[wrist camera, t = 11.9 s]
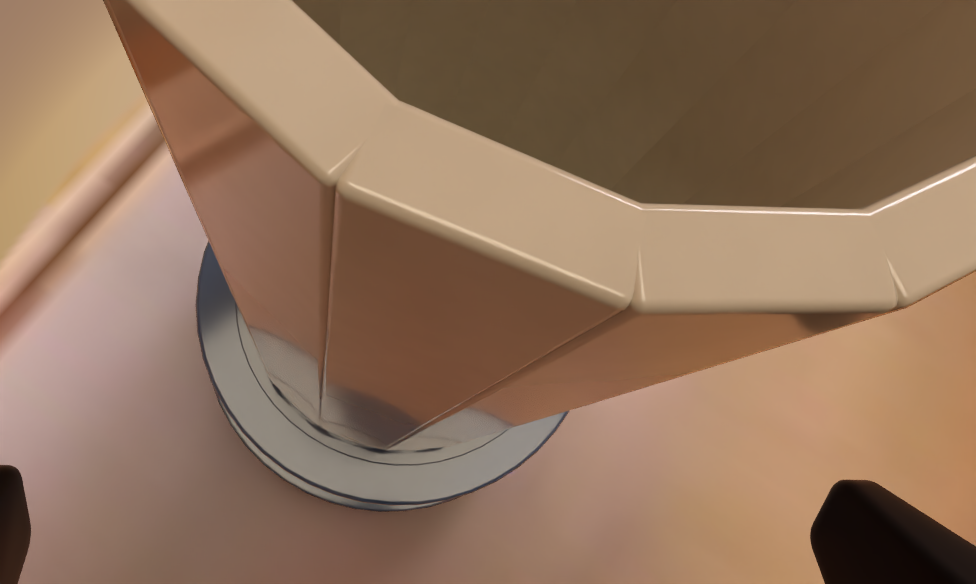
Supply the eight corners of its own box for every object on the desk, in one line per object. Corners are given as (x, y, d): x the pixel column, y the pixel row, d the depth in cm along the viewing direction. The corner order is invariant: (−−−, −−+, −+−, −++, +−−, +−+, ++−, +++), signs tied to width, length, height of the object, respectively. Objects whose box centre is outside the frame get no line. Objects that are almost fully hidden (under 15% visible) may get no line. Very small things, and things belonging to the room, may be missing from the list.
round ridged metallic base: (536, 516, 21) (606, 525, 16) (193, 501, 19) (148, 505, 14) (545, 210, 23) (608, 134, 18) (240, 172, 22) (217, 75, 17)
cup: (600, 372, 17) (1370, 62, 5) (323, 507, 15) (356, 604, 3) (476, 119, 18) (838, -715, 5) (199, 214, 16) (-217, -757, 3)
